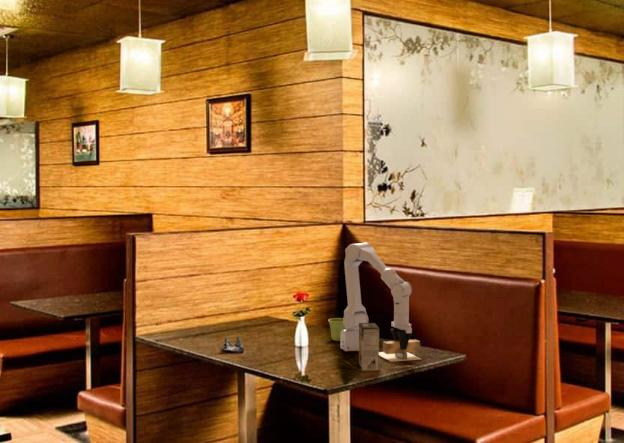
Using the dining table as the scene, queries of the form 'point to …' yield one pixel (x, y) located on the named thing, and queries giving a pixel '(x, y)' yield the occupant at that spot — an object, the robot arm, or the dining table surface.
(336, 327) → the plant pot
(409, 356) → the serving board
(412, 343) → the oak bar
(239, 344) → the grey irregular piece
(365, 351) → the coffee box
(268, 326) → the dining table surface
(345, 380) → the dining table surface
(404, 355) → the fulcrum strip
